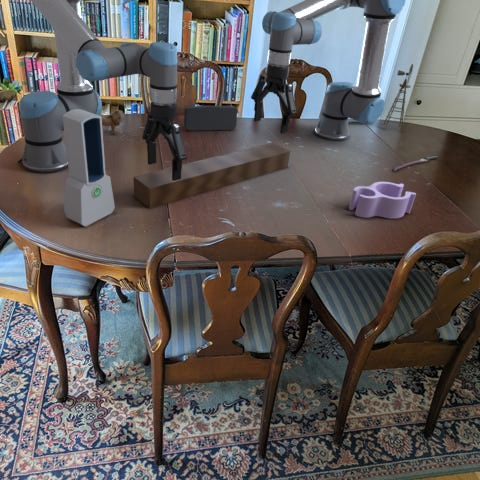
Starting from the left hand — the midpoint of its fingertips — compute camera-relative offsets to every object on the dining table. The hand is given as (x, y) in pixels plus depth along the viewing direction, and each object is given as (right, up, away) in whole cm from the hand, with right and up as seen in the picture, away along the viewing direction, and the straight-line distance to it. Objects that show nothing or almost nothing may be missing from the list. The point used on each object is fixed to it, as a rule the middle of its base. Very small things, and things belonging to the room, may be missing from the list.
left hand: (164, 171), depth 143 cm
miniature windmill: (+98, +34, +85) cm, 134 cm away
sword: (+95, +10, +47) cm, 107 cm away
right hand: (+34, +19, +23) cm, 45 cm away
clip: (+69, -11, +10) cm, 71 cm away
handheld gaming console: (+10, +27, +59) cm, 66 cm away
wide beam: (+16, -1, +18) cm, 24 cm away
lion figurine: (-31, +22, +46) cm, 59 cm away
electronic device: (-20, -14, -9) cm, 26 cm away
